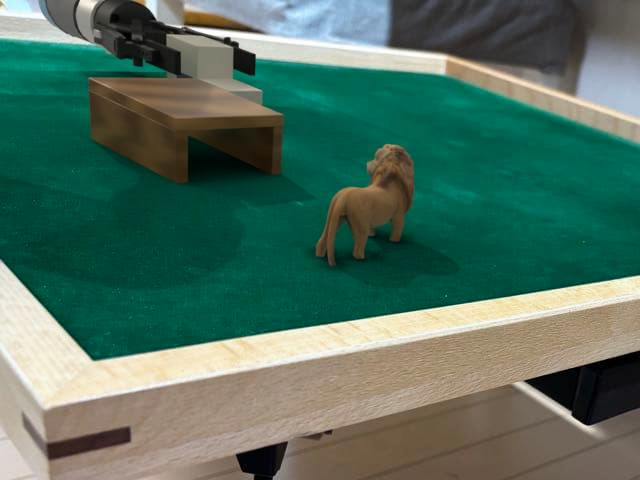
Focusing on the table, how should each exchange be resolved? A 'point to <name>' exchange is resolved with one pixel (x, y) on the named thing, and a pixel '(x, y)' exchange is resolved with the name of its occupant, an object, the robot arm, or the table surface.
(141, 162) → the low wooden table
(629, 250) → the table surface
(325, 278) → the table surface
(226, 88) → the grey stepped block
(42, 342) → the table surface
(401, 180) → the lion figurine
